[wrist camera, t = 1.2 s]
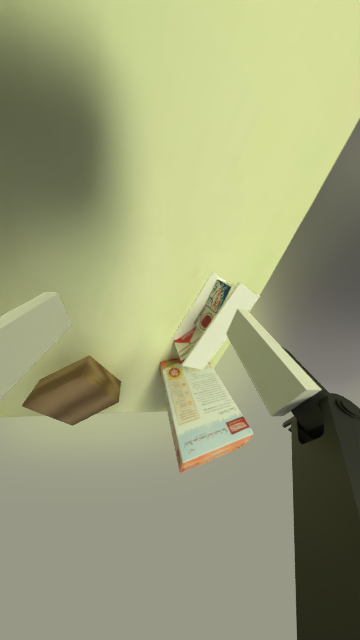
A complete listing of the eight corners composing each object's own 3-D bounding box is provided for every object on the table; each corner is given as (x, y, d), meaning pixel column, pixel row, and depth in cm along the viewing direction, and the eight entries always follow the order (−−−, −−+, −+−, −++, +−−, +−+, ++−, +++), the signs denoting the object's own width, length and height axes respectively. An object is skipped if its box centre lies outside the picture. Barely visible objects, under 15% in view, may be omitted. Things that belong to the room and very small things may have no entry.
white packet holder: (212, 271, 29) (241, 281, 21) (229, 282, 31) (260, 296, 23) (169, 341, 35) (179, 370, 27) (186, 346, 37) (199, 373, 30)
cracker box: (160, 375, 40) (178, 476, 23) (160, 360, 37) (181, 464, 20) (202, 367, 44) (245, 448, 27) (205, 353, 41) (256, 434, 24)
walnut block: (40, 378, 30) (21, 406, 25) (89, 354, 30) (80, 376, 25) (81, 400, 36) (72, 425, 32) (120, 380, 37) (118, 402, 32)
